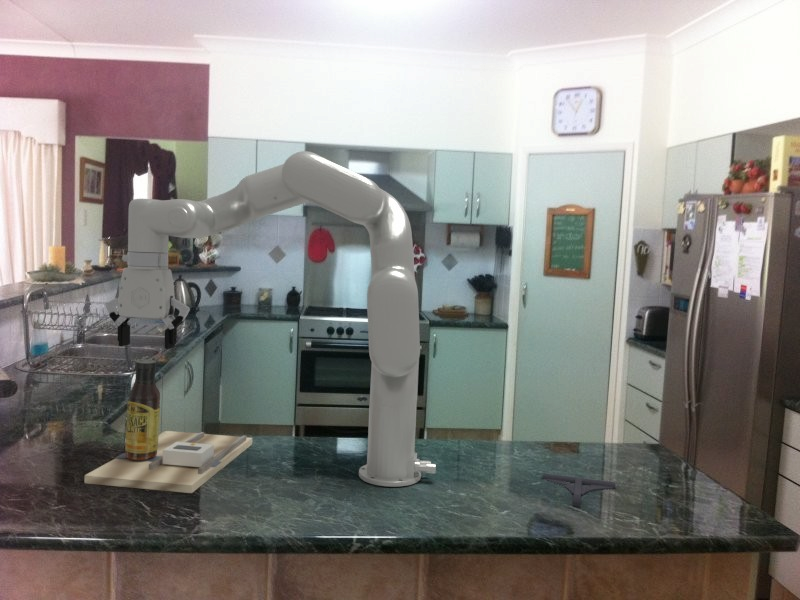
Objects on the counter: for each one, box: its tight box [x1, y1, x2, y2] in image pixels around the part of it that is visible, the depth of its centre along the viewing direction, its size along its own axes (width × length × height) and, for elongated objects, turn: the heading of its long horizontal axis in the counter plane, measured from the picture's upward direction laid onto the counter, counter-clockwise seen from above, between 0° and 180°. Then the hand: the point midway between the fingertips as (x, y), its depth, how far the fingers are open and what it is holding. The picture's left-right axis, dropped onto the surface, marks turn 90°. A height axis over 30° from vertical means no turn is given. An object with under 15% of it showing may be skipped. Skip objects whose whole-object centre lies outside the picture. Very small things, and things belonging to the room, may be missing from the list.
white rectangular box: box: [163, 442, 214, 467], centre depth 135 cm, size 6×8×3 cm
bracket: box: [542, 473, 616, 508], centre depth 131 cm, size 14×15×3 cm
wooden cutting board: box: [83, 430, 253, 494], centre depth 140 cm, size 21×32×2 cm, turn 173°
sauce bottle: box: [124, 358, 161, 461], centre depth 136 cm, size 6×6×20 cm
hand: (146, 346), depth 135 cm, fingers open, 9 cm apart
